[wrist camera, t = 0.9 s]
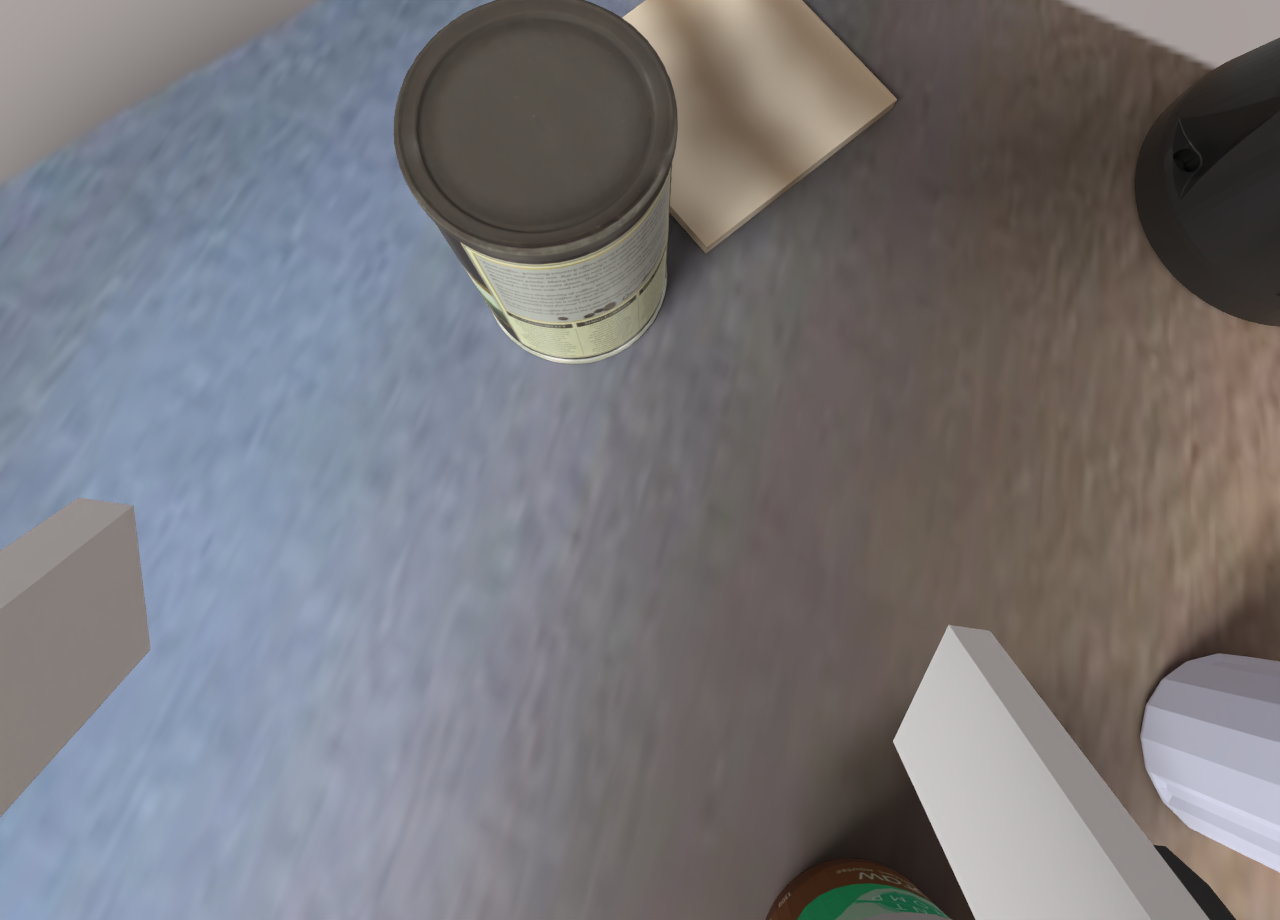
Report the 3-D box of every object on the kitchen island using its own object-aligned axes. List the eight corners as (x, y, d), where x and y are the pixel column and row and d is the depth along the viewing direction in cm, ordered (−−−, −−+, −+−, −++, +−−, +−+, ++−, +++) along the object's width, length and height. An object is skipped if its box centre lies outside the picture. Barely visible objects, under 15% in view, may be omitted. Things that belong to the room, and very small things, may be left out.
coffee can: (448, 301, 39) (334, 153, 25) (555, 160, 40) (504, -57, 26) (598, 402, 38) (567, 308, 24) (704, 255, 39) (733, 83, 25)
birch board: (736, -55, 42) (737, -68, 41) (892, 108, 40) (897, 99, 39) (552, 79, 41) (550, 69, 40) (705, 253, 39) (706, 247, 38)
